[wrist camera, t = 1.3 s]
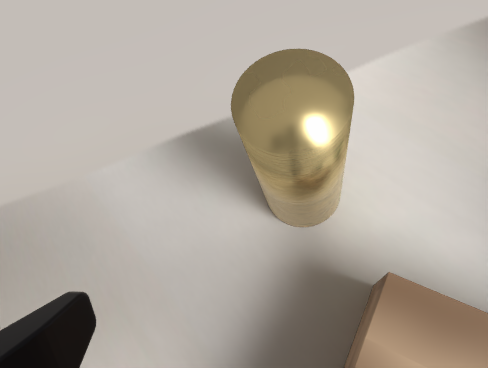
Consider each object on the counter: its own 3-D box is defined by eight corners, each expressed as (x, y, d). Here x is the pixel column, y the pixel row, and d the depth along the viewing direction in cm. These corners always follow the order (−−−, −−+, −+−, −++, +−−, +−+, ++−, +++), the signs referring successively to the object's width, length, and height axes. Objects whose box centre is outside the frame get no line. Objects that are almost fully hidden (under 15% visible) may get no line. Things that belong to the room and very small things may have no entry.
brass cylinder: (323, 239, 22) (326, 171, 13) (254, 210, 23) (210, 131, 14) (351, 172, 23) (372, 65, 14) (283, 148, 24) (261, 37, 15)
